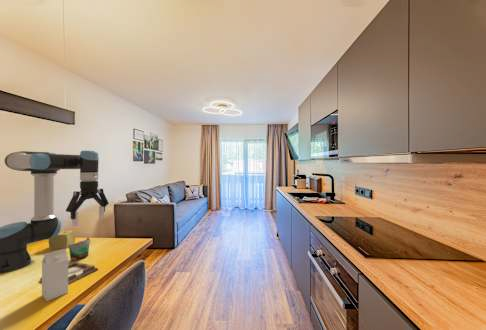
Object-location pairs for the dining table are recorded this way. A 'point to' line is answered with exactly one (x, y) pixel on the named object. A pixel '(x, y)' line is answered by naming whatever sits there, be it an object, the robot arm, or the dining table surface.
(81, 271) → the brown picture frame
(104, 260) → the dining table surface
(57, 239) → the cheese
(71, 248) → the food container
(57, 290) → the milk carton
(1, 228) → the robot arm
